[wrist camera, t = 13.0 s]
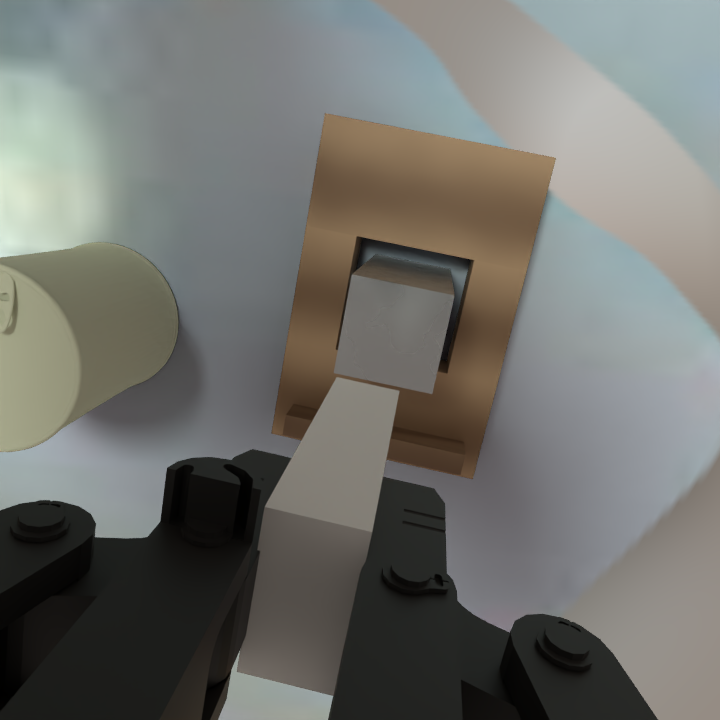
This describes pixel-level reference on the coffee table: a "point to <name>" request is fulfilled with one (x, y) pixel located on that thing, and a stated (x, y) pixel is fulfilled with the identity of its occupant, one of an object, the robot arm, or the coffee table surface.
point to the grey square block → (395, 323)
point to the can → (77, 335)
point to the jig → (427, 232)
